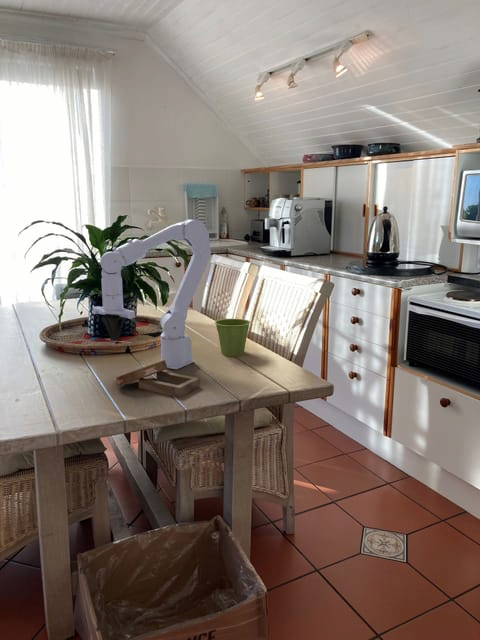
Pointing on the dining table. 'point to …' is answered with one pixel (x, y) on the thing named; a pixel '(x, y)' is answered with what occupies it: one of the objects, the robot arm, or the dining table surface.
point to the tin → (141, 373)
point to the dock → (181, 388)
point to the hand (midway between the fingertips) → (114, 340)
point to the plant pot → (232, 335)
